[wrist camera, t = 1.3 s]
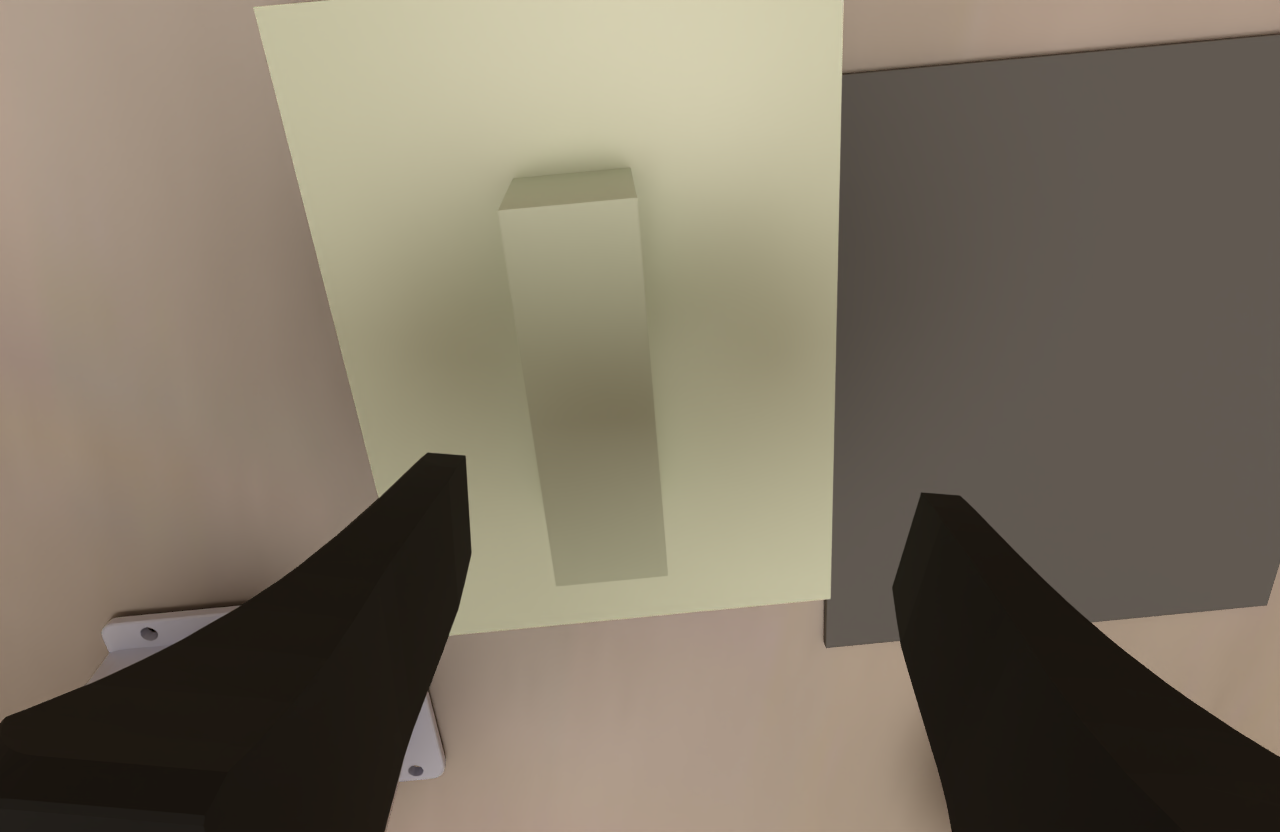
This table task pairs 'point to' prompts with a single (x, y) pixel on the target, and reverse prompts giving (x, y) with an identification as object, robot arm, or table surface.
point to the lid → (586, 282)
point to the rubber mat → (1063, 323)
